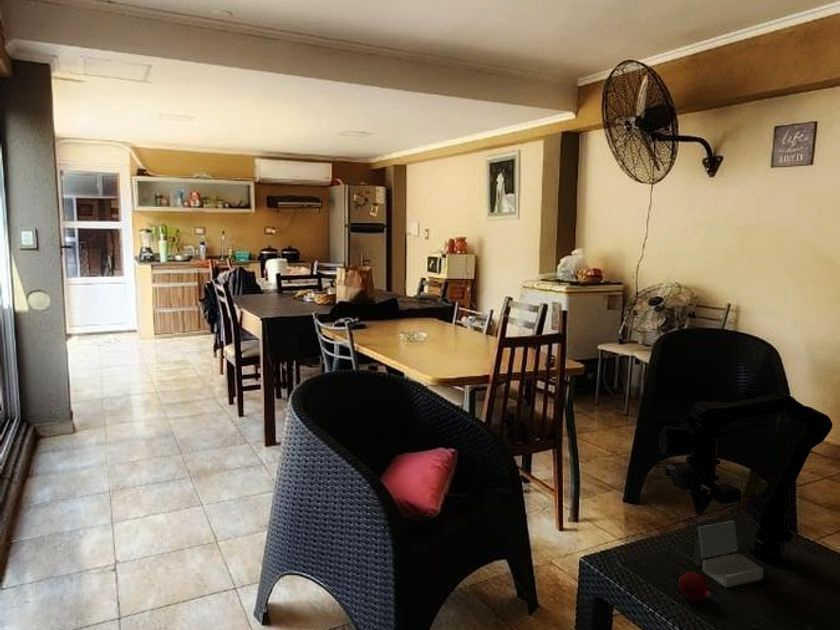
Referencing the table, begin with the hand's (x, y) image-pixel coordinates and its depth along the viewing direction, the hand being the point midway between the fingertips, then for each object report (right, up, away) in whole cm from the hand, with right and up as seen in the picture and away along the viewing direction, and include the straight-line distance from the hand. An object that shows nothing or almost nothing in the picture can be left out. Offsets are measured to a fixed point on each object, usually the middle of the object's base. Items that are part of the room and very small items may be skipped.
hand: (699, 514), depth 151 cm
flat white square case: (+4, -12, -6) cm, 14 cm away
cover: (+3, -5, -4) cm, 7 cm away
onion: (-11, -10, -13) cm, 20 cm away
